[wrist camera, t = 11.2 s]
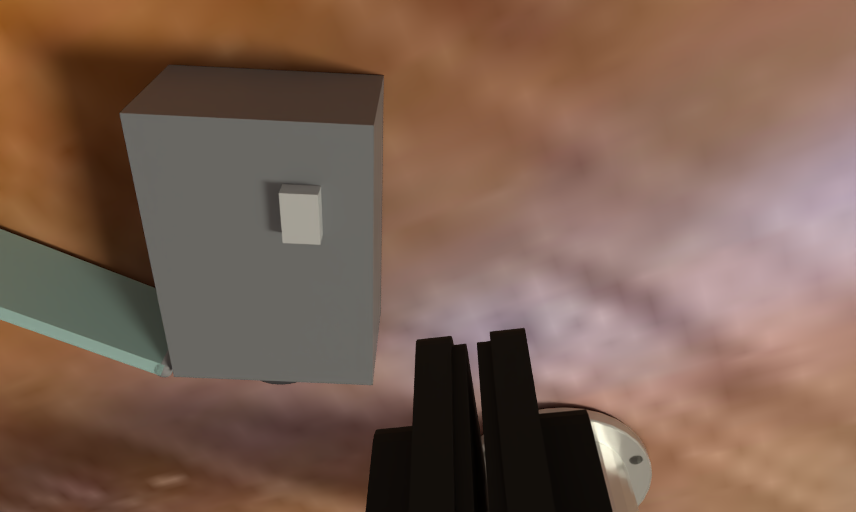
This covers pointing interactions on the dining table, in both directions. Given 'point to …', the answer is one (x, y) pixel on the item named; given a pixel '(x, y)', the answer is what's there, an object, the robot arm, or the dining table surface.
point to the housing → (262, 219)
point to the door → (81, 304)
